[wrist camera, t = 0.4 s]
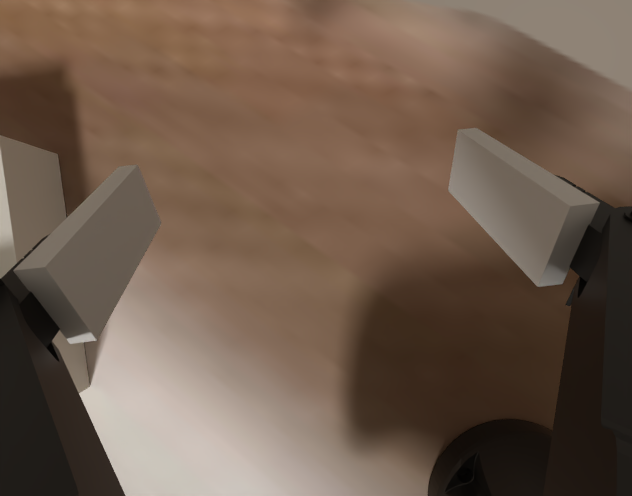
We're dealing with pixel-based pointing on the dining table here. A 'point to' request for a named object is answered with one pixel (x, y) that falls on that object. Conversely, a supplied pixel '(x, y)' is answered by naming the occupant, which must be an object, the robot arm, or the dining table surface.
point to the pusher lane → (34, 222)
